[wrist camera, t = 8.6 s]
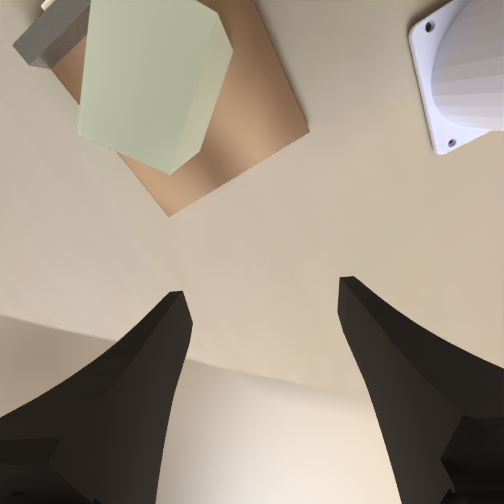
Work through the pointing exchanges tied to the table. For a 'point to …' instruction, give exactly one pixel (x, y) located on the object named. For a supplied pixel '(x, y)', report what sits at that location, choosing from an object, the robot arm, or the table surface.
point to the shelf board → (226, 108)
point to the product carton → (152, 78)
